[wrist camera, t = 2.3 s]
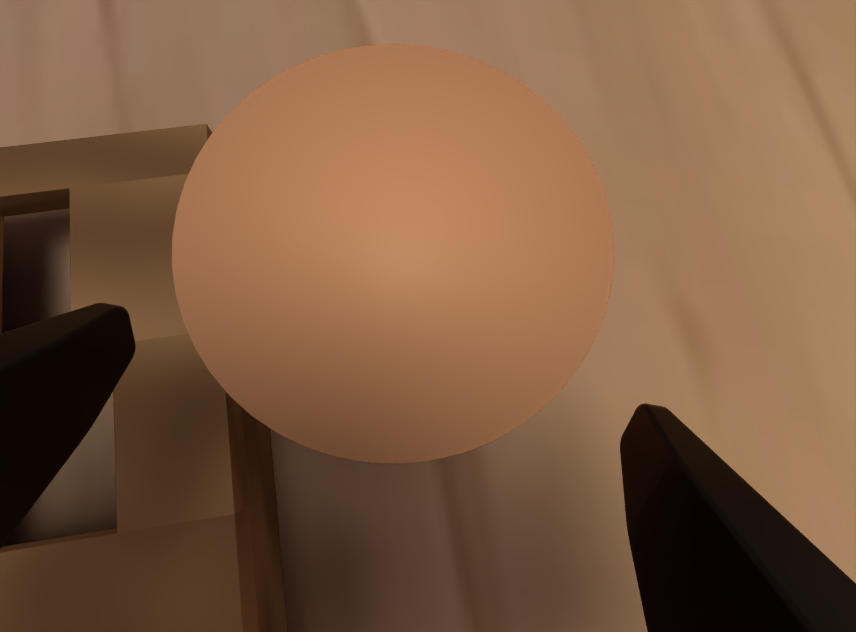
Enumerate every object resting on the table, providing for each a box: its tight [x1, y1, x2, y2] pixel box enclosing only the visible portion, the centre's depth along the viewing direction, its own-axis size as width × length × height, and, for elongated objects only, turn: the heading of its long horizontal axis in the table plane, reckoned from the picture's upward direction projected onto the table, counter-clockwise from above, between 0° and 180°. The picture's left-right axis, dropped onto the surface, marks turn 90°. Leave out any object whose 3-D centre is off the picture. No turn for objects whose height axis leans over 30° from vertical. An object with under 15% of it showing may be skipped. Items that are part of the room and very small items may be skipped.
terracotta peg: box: [172, 44, 614, 464], centre depth 12 cm, size 6×6×12 cm
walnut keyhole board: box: [0, 124, 287, 632], centre depth 15 cm, size 20×11×4 cm, turn 9°
